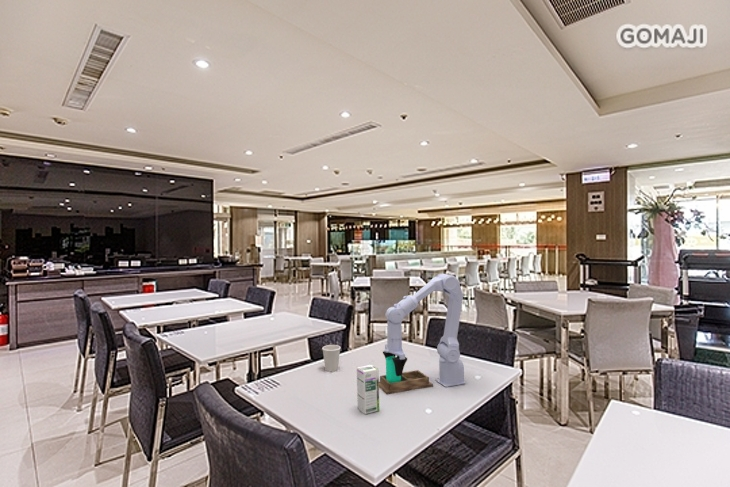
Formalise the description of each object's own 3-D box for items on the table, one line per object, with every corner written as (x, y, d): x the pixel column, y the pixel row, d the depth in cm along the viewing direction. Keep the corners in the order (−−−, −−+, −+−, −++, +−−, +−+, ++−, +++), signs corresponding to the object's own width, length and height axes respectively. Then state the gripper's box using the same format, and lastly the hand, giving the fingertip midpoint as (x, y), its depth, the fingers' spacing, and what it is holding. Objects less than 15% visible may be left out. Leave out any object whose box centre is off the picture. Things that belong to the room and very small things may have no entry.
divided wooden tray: (420, 377, 156) (419, 369, 156) (432, 386, 147) (432, 377, 147) (376, 384, 149) (376, 375, 149) (386, 394, 140) (386, 385, 139)
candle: (399, 388, 142) (398, 357, 142) (384, 386, 144) (383, 356, 144) (402, 382, 148) (402, 353, 148) (388, 381, 150) (387, 351, 150)
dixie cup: (344, 368, 168) (344, 346, 168) (333, 374, 161) (333, 351, 161) (330, 365, 173) (329, 343, 173) (318, 370, 166) (318, 348, 166)
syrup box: (364, 415, 123) (364, 371, 123) (356, 407, 129) (356, 366, 129) (379, 411, 126) (379, 368, 126) (371, 404, 131) (370, 363, 131)
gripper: (378, 334, 152) (378, 367, 152) (393, 343, 138) (393, 380, 138) (393, 332, 154) (394, 365, 154) (409, 341, 141) (410, 377, 141)
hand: (394, 372), depth 146 cm, fingers open, 7 cm apart
